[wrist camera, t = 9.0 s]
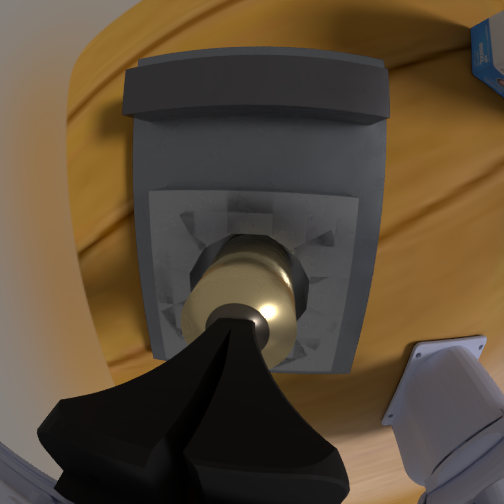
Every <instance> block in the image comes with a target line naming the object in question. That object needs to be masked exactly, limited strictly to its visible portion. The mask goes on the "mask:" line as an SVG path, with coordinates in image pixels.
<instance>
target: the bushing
mask: <svg viewBox="0 0 504 504" xmlns="http://www.w3.org/2000/svg"><path fill="white" fill-rule="evenodd" d="M218 318H230V319H243V320H253V321H254V322H255V332H256V337H257V341H258V344H259V347H260V350H261V353H262V356H263V358H264V360H265V363H266V365H267V367H268V369H271V368H273V367H275V366H276V365H278V364H279V363H281V362H282V361H283V360H284V359H285V358H286V357H287V356H288V354H289V353H290V352H291V350H292V348H293V346H294V344H295V340H296V336H297V322H296V311H295V300H294V289H293V279H292V269H291V263H290V260H289V258H288V256H287V254H286V252H285V251H284V249H283V248H282V247H281V246H280V245H279V244H278V243H276V242H275V241H273V240H272V239H270V238H268V237H265V236H262V235H256V234H246V235H241V236H238V237H235V238H233V239H231V240H230V241H228V242H227V243H226V244H225V245H223V247H222V248H221V249H220V250H219V252H218V253H217V255H216V256H215V258H214V259H213V261H212V262H211V264H210V265H209V267H208V268H207V270H206V271H205V273H204V274H203V276H202V277H201V279H200V280H199V282H198V283H197V285H196V286H195V288H194V289H193V291H192V292H191V294H190V295H189V297H188V299H187V300H186V302H185V304H184V306H183V309H182V313H181V329H182V334H183V336H184V339H185V341H186V343H187V345H189V344H190V343H192V342H193V341H194V340H195V339H196V338H197V337H199V336H200V335H201V334H202V333H203V332H204V331H205V330H206V329H207V328H208V327H209V326H210V325H211V324H212V323H214V322H215V321H216V320H217V319H218Z"/></svg>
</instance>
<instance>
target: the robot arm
mask: <svg viewBox="0 0 504 504" xmlns="http://www.w3.org/2000/svg"><path fill="white" fill-rule="evenodd" d="M486 341H487V338H486V337H485V336H484V335H481V336H474V337H466V338H458V339H449V340H439V341H427V342H419V343H417V344H416V345H415V346H414V348H413V350H412V353H411V356H410V358H409V361H408V363H407V366H406V368H405V371H404V373H403V376H402V378H401V380H400V383H399V385H398V387H397V390H396V392H395V394H394V396H393V398H392V400H391V403H390V405H389V407H388V409H387V411H386V413H385V415H384V417H383V419H382V421H381V422H382V425H384V426H386V425H392V429H393V432H394V435H395V438H396V441H397V444H398V448H399V451H400V454H401V458H402V461H403V465H404V468H405V471H406V473H407V475H408V476H409V477H410V478H411V479H412V480H413V481H414V482H415V483H417V484H419V485H421V486H425V488H426V491H425V492H424V493H423V494H422V495H421V496H420V498H419V500H418V503H417V504H504V394H503V393H502V391H501V390H500V388H499V387H498V386H497V384H496V383H495V382H494V380H493V379H492V377H491V376H490V375H489V373H488V372H487V371H486V370H485V368H484V367H483V366H482V364H481V363H480V362H479V361H478V359H479V357H480V355H481V352H482V350H483V348H484V346H485V343H486ZM417 353H419V354H417ZM416 354H417V355H416ZM37 435H38V438H39V441H40V443H41V444H42V445H43V447H44V448H45V449H46V451H47V452H48V453H49V454H50V455H51V457H52V458H53V459H54V460H55V462H56V463H57V464H58V465H59V466H60V467H61V468H62V470H63V473H62V475H61V477H60V478H59V480H58V481H57V480H55V479H53V478H51V477H50V476H48V475H47V474H45V473H43V472H42V471H40V470H38V469H37V468H36V467H34V466H33V465H31V464H29V463H28V462H27V461H25V460H24V459H22V458H21V457H20V456H18V455H17V454H15V453H14V452H13V451H11V450H10V449H9V448H8V447H6V446H5V445H4V444H3V443H1V442H0V504H59V503H60V504H341V503H342V501H343V500H344V499H345V498H346V497H347V495H348V493H349V491H350V487H349V480H348V476H347V472H346V469H345V466H344V464H343V461H342V459H341V456H340V454H339V452H338V450H337V448H335V447H334V446H333V445H331V444H330V443H329V442H328V441H327V440H325V439H324V438H323V437H322V436H321V435H320V434H318V433H317V432H316V431H315V430H314V429H313V428H312V427H311V426H310V425H309V424H308V423H307V422H306V421H305V420H304V419H303V418H302V417H301V415H300V414H299V413H298V412H297V411H296V410H295V408H294V407H293V406H292V405H291V404H290V402H289V401H288V400H287V399H286V397H285V396H284V394H283V393H282V391H281V390H280V388H279V387H278V385H277V384H276V382H275V380H274V379H273V377H272V375H271V373H270V371H269V369H268V367H267V365H266V363H265V360H264V358H263V356H262V353H261V350H260V347H259V344H258V341H257V337H256V332H255V322H254V321H253V320H243V319H230V318H218V319H217V320H216V321H215V322H214V323H212V324H211V325H210V326H209V327H208V328H207V329H206V330H205V331H204V332H203V333H202V334H201V335H200V336H199V337H197V338H196V339H195V340H194V341H193V342H192V343H190V344H189V345H188V346H187V347H186V348H184V349H183V350H182V351H180V352H179V353H178V354H176V355H175V356H174V357H172V358H171V359H169V360H168V361H166V362H165V363H163V364H162V365H160V366H158V367H156V368H155V369H153V370H151V371H149V372H147V373H145V374H143V375H141V376H139V377H137V378H135V379H132V380H130V381H128V382H126V383H123V384H121V385H118V386H115V387H112V388H109V389H106V390H103V391H100V392H96V393H92V394H88V395H83V396H78V397H74V398H68V399H62V400H60V401H59V402H58V403H57V405H56V406H55V407H54V408H53V410H52V411H51V412H50V414H49V415H48V416H47V417H46V419H45V420H44V421H43V423H42V424H41V425H40V427H39V428H38V430H37Z"/></svg>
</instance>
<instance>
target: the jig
mask: <svg viewBox="0 0 504 504" xmlns="http://www.w3.org/2000/svg"><path fill="white" fill-rule="evenodd" d="M122 115H123V116H128V117H132V118H134V125H133V195H134V215H135V230H136V243H137V254H138V263H139V272H140V280H141V288H142V295H143V302H144V309H145V315H146V321H147V327H148V332H149V338H150V343H151V348H152V353H153V358H154V359H159V360H165V361H168V360H169V359H171V358H172V357H174V356H175V355H176V354H178V353H179V352H180V351H182V350H183V349H184V348H186V347H187V346H188V345H187V343H186V341H185V339H184V336H183V334H182V329H181V313H182V309H183V306H184V304H185V302H186V300H187V299H188V297H189V295H190V294H191V292H192V291H193V289H194V288H195V286H196V285H197V283H198V282H199V280H200V279H201V277H202V276H203V274H204V273H205V271H206V270H207V268H208V267H209V265H210V264H211V262H212V261H213V259H214V258H215V256H216V255H217V253H218V252H219V250H220V249H221V248H222V247H223V245H225V244H226V243H227V242H228V241H230V240H231V239H233V238H235V237H238V236H241V235H246V234H256V235H262V236H265V237H268V238H270V239H272V240H273V241H275V242H276V243H278V244H279V245H280V246H281V247H282V248H283V249H284V251H285V252H286V254H287V256H288V258H289V260H290V263H291V269H292V279H293V289H294V300H295V311H296V322H297V336H296V340H295V344H294V346H293V348H292V350H291V352H290V353H289V354H288V356H287V357H286V358H285V359H284V360H283V361H282V362H281V363H279V364H278V365H276V366H275V367H273V368H271V369H269V371H270V372H272V373H296V374H349V373H350V370H351V367H352V363H353V360H354V356H355V352H356V348H357V345H358V341H359V337H360V333H361V329H362V324H363V320H364V316H365V311H366V307H367V302H368V297H369V292H370V287H371V281H372V276H373V270H374V264H375V258H376V252H377V245H378V237H379V230H380V222H381V213H382V203H383V191H384V178H385V160H386V119H388V118H390V100H389V78H388V69H386V68H384V60H381V59H376V58H371V57H366V56H361V55H355V54H349V53H342V52H335V51H327V50H318V49H307V48H293V47H227V48H212V49H202V50H192V51H184V52H177V53H170V54H164V55H159V56H153V57H148V58H143V59H139V61H138V67H136V68H131V69H127V70H126V74H125V83H124V95H123V109H122Z"/></svg>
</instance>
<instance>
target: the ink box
mask: <svg viewBox="0 0 504 504" xmlns="http://www.w3.org/2000/svg"><path fill="white" fill-rule="evenodd" d="M471 47H472V73H473V75H474V76H475V77H477V78H478V79H480V80H481V81H483V82H484V83H485V84H487V85H488V86H489V87H491V88H492V89H493V90H494V91H496V92H497V93H498V94H500V95H501V96H502V97H503V98H504V10H503V11H501V12H499V13H497V14H495V15H493V16H492V17H490V18H488V19H486V20H484V21H483V22H481V23H479V24H477V25H475V26H474V27H472V28H471Z"/></svg>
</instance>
